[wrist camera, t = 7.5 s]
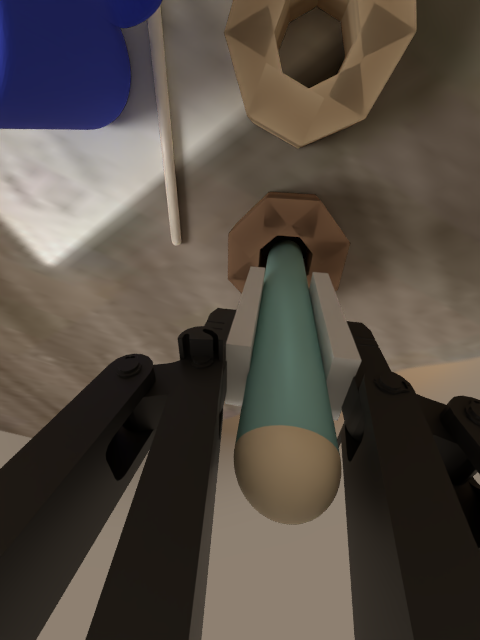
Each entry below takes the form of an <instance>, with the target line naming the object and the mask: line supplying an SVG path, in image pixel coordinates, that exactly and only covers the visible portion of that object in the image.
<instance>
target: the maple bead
mask: <svg viewBox="0 0 480 640" xmlns="http://www.w3.org/2000/svg"><path fill="white" fill-rule="evenodd" d="M315 7H318V8H320V9H322V10H323V11H325V12H326V13H328V14H329V15H331V16H332V17H334V18H335V19H337V20H338V21H340V22H341V28H342V37H343V46H344V54H345V59H344V61H343V63H342V65H341V67H340V69H339V71H338V73H337V75H335V76H333V77H331V78H329V79H327V80H325V81H323V82H321V83H319V84H317V85H315V86H313V87H311V88H307V87H305V86H304V85H302V84H300V83H299V82H297V81H295V80H294V79H292V78H290V77H289V76H287V75H286V74H284V73H282V68H281V63H280V58H279V53H278V51H279V49H280V46H281V43H282V41H283V38H284V36H285V33H286V30H287V28H288V25H289V23H290V22H291V21H293V20H295V19H296V18H298V17H300V16H302V15H303V14H305V13H307V12H308V11H310V10H312V9H313V8H315ZM416 31H417V25H416V0H233V3H232V6H231V10H230V13H229V17H228V20H227V24H226V28H225V31H224V34H225V38H226V41H227V45H228V48H229V52H230V56H231V59H232V63H233V66H234V70H235V74H236V77H237V81H238V85H239V88H240V92H241V95H242V99H243V103H244V106H245V110H246V113H247V116H248V117H249V118H250V120H251V121H252V122H253V123H254V124H256V125H257V126H259V127H261V128H262V129H264V130H266V131H268V132H269V133H271V134H273V135H275V136H276V137H278V138H280V139H282V140H283V141H285V142H287V143H289V144H290V145H292V146H294V147H296V148H297V149H298V148H301V147H303V146H305V145H308V144H310V143H312V142H315V141H317V140H319V139H322V138H324V137H326V136H329V135H331V134H333V133H336V132H338V131H340V130H343V129H345V128H347V127H350V126H352V125H354V124H356V123H358V122H360V121H362V120H363V119H365V118H366V116H367V115H368V113H369V111H370V110H371V108H372V106H373V104H374V103H375V101H376V99H377V98H378V96H379V94H380V93H381V91H382V89H383V87H384V86H385V84H386V82H387V81H388V79H389V77H390V75H391V74H392V72H393V70H394V69H395V67H396V65H397V63H398V62H399V60H400V58H401V57H402V55H403V53H404V51H405V50H406V48H407V46H408V45H409V43H410V41H411V39H412V38H413V36H414V34H415V33H416Z"/></svg>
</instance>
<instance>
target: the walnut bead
mask: <svg viewBox="0 0 480 640" xmlns="http://www.w3.org/2000/svg"><path fill="white" fill-rule="evenodd" d="M277 235H280V236H293V237H300V238H301V239H302V241H303V242H304V243H305V245H306V246H307V252H306V258H305V259H304V260H303V261H304V266H305V272H306V277H307V282H308V288H310V283H311V278H312V273H313V272H318V273H328V274H329V277H330V280H331V282H332V285H333V287H334V290H335V291H336V290H338V286H339V283H340V279H341V275H342V272H343V268H344V265H345V261H346V257H347V254H348V250H349V246H350V242H349V240H348V239H347V238H346V236H345V235H344V233H343V232H342V230H341V229H340V228H339V226H338V225H337V223H336V222H335V220H334V219H333V218H332V216H331V215H330V213H329V212H328V210H327V209H326V207H325V206H324V205H323V203H322V202H321V200H320V199H319V198H318V197H317V196H316V195H315V194H298V193H281V192H268V193H267V194H266V195H265V196H264V197H263V198H262V199H261V200H260V201H259V202H258V203H257V204H256V205H255V206H254V207H253V208H252V209H251V210H250V211H249V212H248V213H247V214H246V215H245V216H244V217H242V218H241V219H240V220H239V221H238V222H237V223H236V225H235V226H234V227H233V229H232V230H231V231H230V232H229V235H228V280H229V281H230V282H231V283H232V284H233V285H234V286H235V287H236V288H237V289H238V290H239V291H240V292H241V293H242V292H243V289H244V286H245V283H246V279H247V276H248V273H249V270H250V267H263V268H265V270H266V265H267V261H266V259H265V258H264V257H263V256H262V247H264V246H265V245H266V244H267V243H268V242H270V241H271V240H272V239H273V238H274V237H275V236H277Z"/></svg>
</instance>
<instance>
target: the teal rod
mask: <svg viewBox="0 0 480 640" xmlns="http://www.w3.org/2000/svg"><path fill="white" fill-rule="evenodd" d="M234 468H235V474H236V477H237V481H238V484H239V486H240V488H241V490H242V492H243V494H244V496H245V497H246V499H247V500H248V501H249V503H250V504H251V505H252V506H253V507H254V508H255V509H256V510H257V511H258V512H259V513H260V514H262V515H263V516H265V517H267V518H269V519H270V520H273V521H275V522H278V523H282V524H289V525H290V524H291V525H297V524H303V523H306V522H309V521H312V520H313V519H315V518H317V517H318V516H320V515H321V514H322V513H323V512H324V511H325V510H327V508H328V507H329V506H330V504H331V503H332V501H333V500H334V498H335V496H336V494H337V491H338V488H339V484H340V479H341V460H340V453H339V448H338V443H337V437H336V432H335V427H334V421H333V416H332V411H331V405H330V400H329V395H328V389H327V384H326V379H325V373H324V368H323V362H322V357H321V352H320V346H319V341H318V336H317V330H316V325H315V320H314V314H313V309H312V304H311V298H310V293H309V288H308V282H307V277H306V272H305V266H304V261H303V256H302V251H301V249H300V247H299V246H298V244H296V243H295V242H293V241H290V240H282V241H279V242H277V243H275V244H274V245H273V246H272V247H271V249H270V250H269V253H268V259H267V265H266V270H265V276H264V286H263V292H262V298H261V304H260V310H259V316H258V322H257V328H256V333H255V339H254V345H253V351H252V357H251V363H250V369H249V373H248V375H247V380H246V386H245V391H244V397H243V403H242V409H241V414H240V421H239V426H238V432H237V438H236V444H235V449H234Z"/></svg>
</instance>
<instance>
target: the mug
mask: <svg viewBox="0 0 480 640" xmlns="http://www.w3.org/2000/svg"><path fill="white" fill-rule="evenodd" d="M161 2H162V0H0V129H75V130H90V129H98V128H101V127H104V126H106V125H108V124H110V123H111V122H113V121H114V120H115V119H116V118H117V117H118V116H119V115H120V113H121V112H122V110H123V109H124V107H125V105H126V102H127V99H128V96H129V91H130V82H131V70H130V61H129V56H128V51H127V47H126V44H125V40H124V37H123V34H122V32H121V29H120V28H129V27H133V26H136V25H138V24H140V23H142V22H144V21H145V20H147V19H148V18H149V17H151V16H152V15H153V14H154V13H155V12H156V11H157V9H158V8H159V6H160V4H161Z"/></svg>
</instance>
